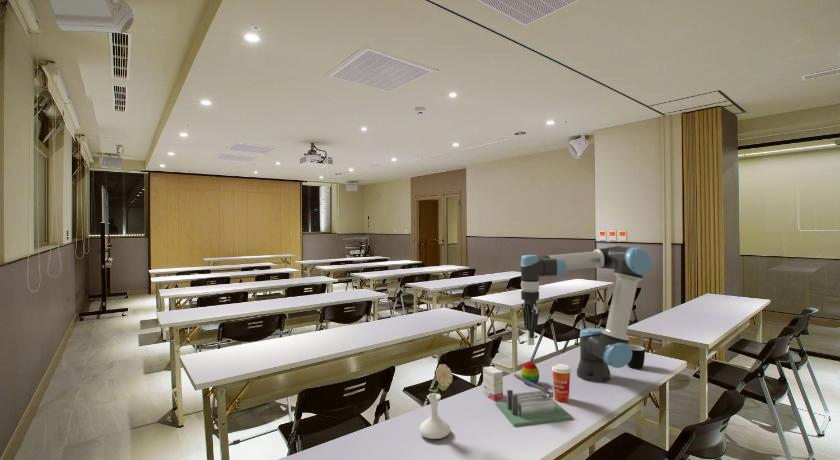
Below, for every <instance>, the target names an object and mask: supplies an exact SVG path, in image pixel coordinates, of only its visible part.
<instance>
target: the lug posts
mask: <svg viewBox="0 0 840 460" xmlns="http://www.w3.org/2000/svg"><path fill="white" fill-rule="evenodd" d="M513 394H514V392H513V389H507V390H506V395H507V397H506V398H507V400H506V401H507V407H508V410H510V409H512V414H513V415H516V414H518V402H517V394H516V395H513Z"/></svg>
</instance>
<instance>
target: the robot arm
mask: <svg viewBox="0 0 840 460" xmlns="http://www.w3.org/2000/svg"><path fill="white" fill-rule="evenodd" d="M520 257H521V259H520V282H521V283H520V288H521V289H520V290H521V292H520V299H521V300H523V303H521V310H522V318H523V324H524V325H523V326H524V327H525V330H526V345H527V346H534V345H535V331H537V330H538V323H539V316H540V315H539V314H540V312H541V311H540V309H538V308H537V306H538V305H537V301H539V300H540V291H539V290H540V277H558V276H564V275H565V274H566V271H568V270H579V269H589V268H590V269H591V268H596V269H598V270H599V269H607V270H614V271H613V274H614V275H615V277H616V280H615V284H614V290H613V293H612V298H611V303H610V307H609V310H608V311H609V312H608V316H607V321H606V325H605V326H606V327H605V328H604V329H603V328H597V327H596V328H595V327H589V328H588V327H587V328H582V329H581V330H580V331H579V351H580V352H579V355H580V356H579V358H580V359H579V362H578V365H577V368H576V376H577V377H578V378H580V379H581V380H584V381H587V382H594V383H605V382H609V381H610V380H611V378H612V376H611V375H612V374H611V371H610V368H609V366H611V367H612V368H615V369H621V368H623V367H625V366H626V365H627V364H628V363H629V362H630V360H631V358H632V350H631V348H630V347H629V345H630V344H629V343H630V338H629V337H628V335H627V333H628V329H629V324H630V319H631V314H632V310H633V307H634V306H633V305H634V300H635V297H636V296H635V295H636V292H637V288H638V287H637V286H638V283H639V282H641V281H642V280H643V278H644V275H646V274H647V273H648V272H650V270H651V268H652V258H651V256H650V254H649V253H648V251H647V250H646V249H643V248H640V247H636V246H622V245H621V246H620V245H613V246H607V247H602V248H595V249H594V250H593V251H584V252H571V253H562V254H551V255H540V256H539V255H537V254H524V255H521V256H520ZM627 366H628V365H627Z"/></svg>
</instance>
